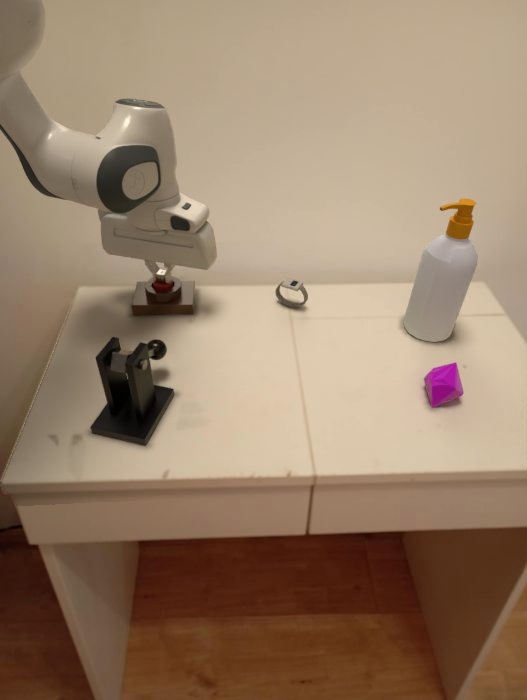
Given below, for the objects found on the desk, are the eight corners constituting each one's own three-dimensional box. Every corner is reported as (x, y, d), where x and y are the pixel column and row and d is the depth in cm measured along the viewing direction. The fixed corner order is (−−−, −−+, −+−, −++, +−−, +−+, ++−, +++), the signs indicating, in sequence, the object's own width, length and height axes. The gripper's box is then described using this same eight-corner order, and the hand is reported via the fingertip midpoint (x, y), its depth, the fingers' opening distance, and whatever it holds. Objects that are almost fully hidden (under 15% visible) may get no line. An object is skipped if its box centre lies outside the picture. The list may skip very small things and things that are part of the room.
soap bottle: (389, 321, 87) (422, 195, 71) (429, 309, 90) (468, 186, 74) (420, 349, 81) (462, 218, 65) (461, 335, 84) (511, 208, 69)
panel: (132, 315, 86) (129, 296, 83) (138, 291, 92) (135, 273, 89) (193, 314, 86) (192, 296, 84) (195, 290, 92) (194, 272, 90)
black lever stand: (125, 383, 72) (112, 322, 64) (174, 394, 71) (166, 332, 63) (91, 432, 65) (72, 369, 57) (145, 445, 63) (132, 382, 56)
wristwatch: (272, 304, 90) (274, 282, 86) (278, 297, 91) (280, 275, 88) (302, 313, 88) (305, 291, 84) (308, 306, 89) (310, 283, 86)
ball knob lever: (149, 356, 73) (151, 336, 72) (168, 360, 72) (171, 339, 72) (105, 372, 60) (108, 348, 60) (128, 377, 60) (131, 352, 59)
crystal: (418, 383, 74) (425, 361, 71) (451, 383, 75) (460, 361, 72) (428, 408, 70) (437, 386, 67) (463, 407, 71) (473, 385, 68)
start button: (152, 294, 86) (151, 286, 84) (154, 283, 88) (153, 275, 87) (172, 294, 86) (171, 286, 85) (174, 283, 88) (173, 275, 87)
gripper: (86, 207, 76) (102, 280, 85) (205, 224, 73) (209, 299, 82) (105, 193, 81) (119, 263, 90) (218, 208, 78) (220, 280, 86)
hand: (162, 280), depth 86 cm, fingers closed, pressing on start button
